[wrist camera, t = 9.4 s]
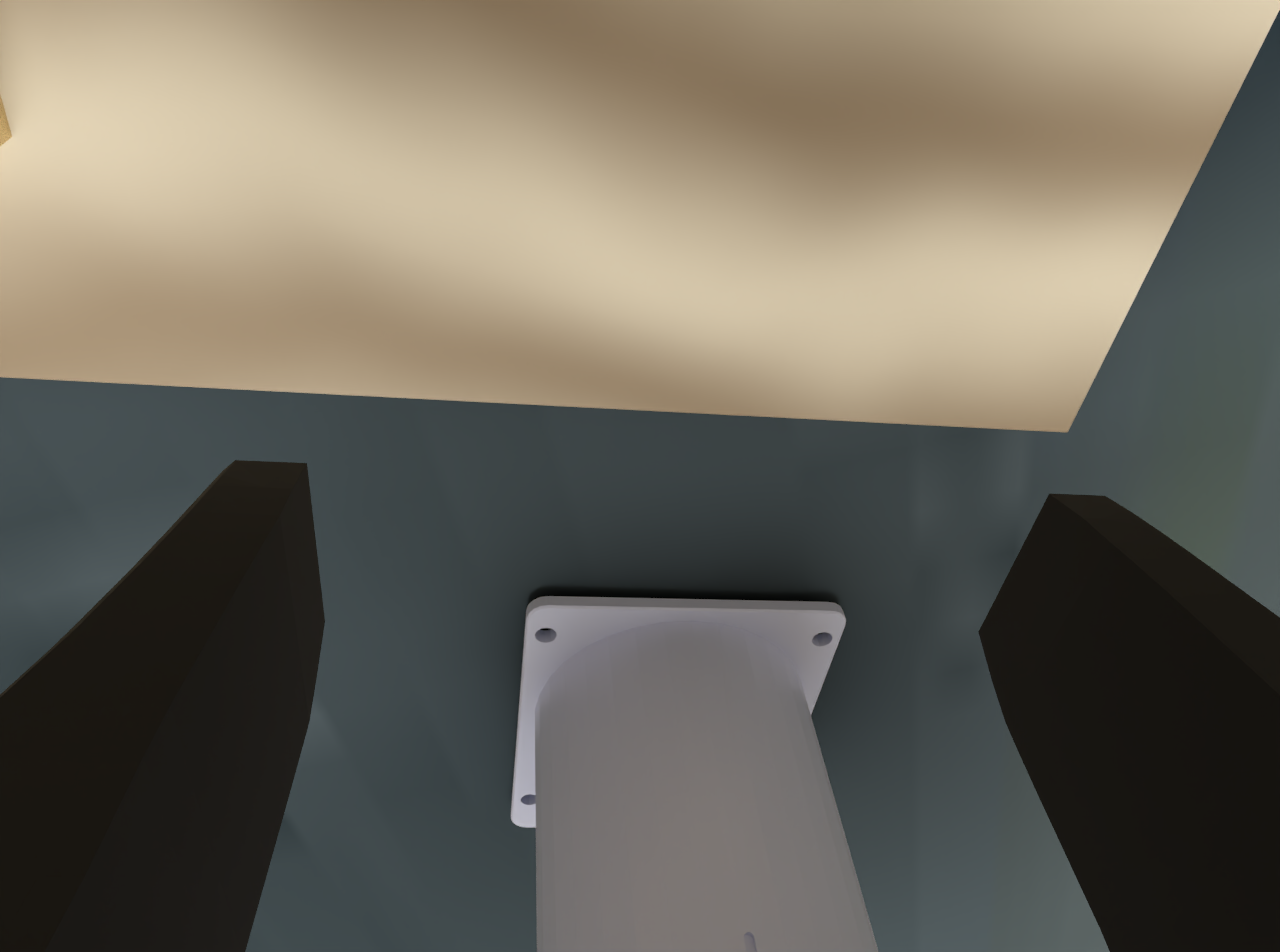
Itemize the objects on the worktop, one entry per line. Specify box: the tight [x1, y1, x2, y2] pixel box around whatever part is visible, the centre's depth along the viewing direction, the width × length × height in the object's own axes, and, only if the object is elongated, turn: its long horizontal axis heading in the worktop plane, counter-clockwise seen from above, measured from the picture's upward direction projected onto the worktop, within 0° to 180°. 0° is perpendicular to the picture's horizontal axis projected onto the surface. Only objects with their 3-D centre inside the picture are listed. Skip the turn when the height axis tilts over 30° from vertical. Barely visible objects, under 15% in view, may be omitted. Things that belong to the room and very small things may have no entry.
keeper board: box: [0, 0, 1280, 432], centre depth 12 cm, size 14×28×4 cm, turn 83°
